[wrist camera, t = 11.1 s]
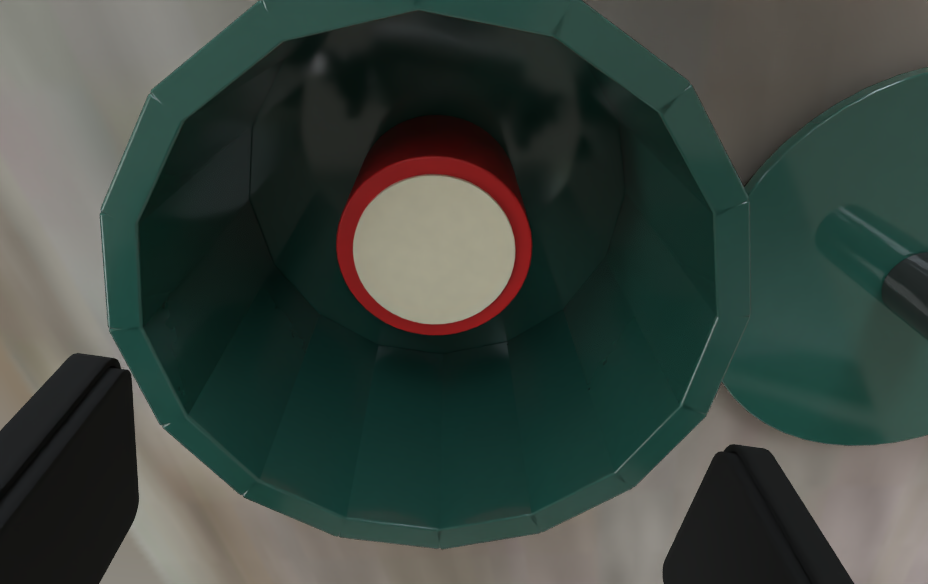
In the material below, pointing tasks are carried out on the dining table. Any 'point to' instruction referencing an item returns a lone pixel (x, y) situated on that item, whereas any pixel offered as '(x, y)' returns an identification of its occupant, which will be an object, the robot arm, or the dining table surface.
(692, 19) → the dining table surface
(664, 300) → the pot
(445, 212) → the red short cylinder
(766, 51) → the dining table surface
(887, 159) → the pot lid
